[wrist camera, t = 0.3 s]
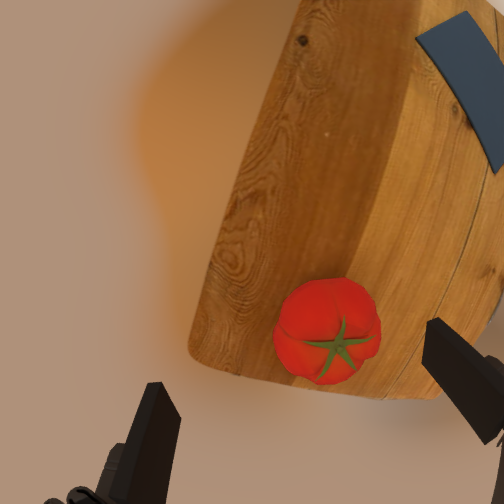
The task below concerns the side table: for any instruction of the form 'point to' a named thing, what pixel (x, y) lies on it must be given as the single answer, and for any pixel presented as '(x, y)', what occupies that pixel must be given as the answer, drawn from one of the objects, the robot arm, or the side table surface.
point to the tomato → (327, 330)
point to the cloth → (471, 78)
